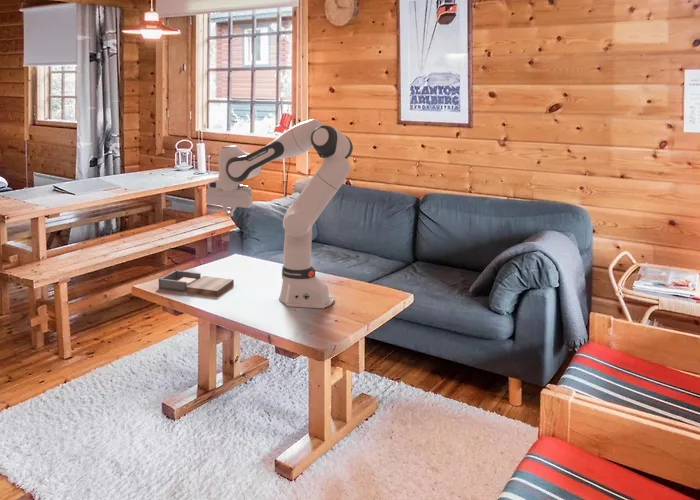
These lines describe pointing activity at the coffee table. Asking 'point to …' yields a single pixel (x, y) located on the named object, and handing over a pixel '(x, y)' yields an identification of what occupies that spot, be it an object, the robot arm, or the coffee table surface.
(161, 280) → the box
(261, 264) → the coffee table surface
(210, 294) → the board
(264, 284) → the coffee table surface
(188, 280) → the tile
